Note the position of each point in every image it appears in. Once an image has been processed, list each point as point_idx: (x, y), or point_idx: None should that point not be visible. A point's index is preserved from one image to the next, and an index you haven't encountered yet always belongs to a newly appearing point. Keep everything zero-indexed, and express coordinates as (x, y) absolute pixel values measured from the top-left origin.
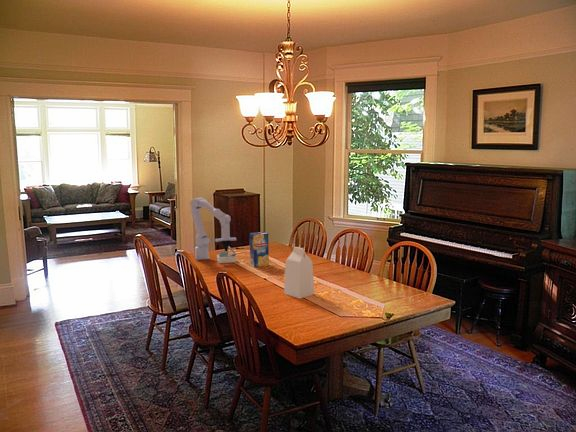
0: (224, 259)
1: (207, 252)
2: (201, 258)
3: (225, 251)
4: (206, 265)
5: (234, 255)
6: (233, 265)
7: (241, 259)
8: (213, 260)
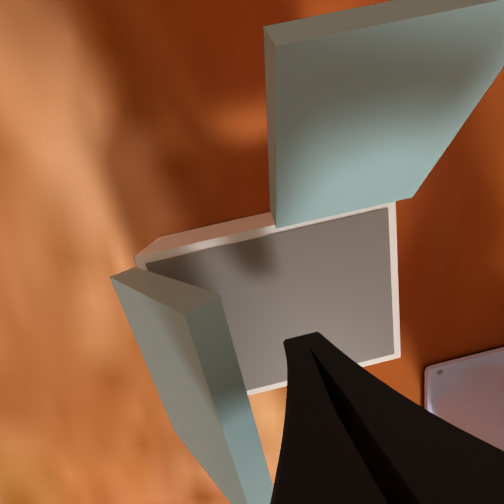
0: None
1: (496, 434)
2: (500, 362)
3: (368, 22)
4: (495, 114)
5: None
6: (173, 51)
7: (113, 338)
8: None
